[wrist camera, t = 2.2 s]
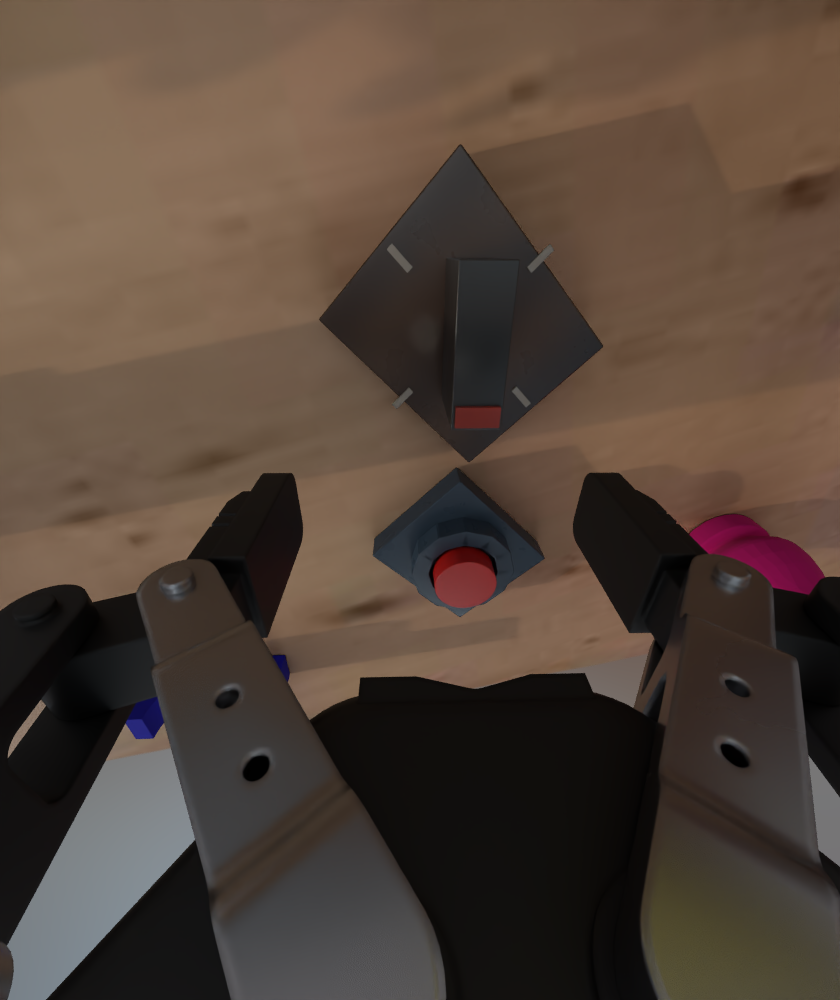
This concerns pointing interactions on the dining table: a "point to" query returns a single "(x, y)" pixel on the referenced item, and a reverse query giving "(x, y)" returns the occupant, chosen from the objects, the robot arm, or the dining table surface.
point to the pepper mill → (759, 551)
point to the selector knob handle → (477, 339)
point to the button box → (455, 536)
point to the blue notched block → (150, 718)
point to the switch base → (421, 303)
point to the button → (464, 577)
